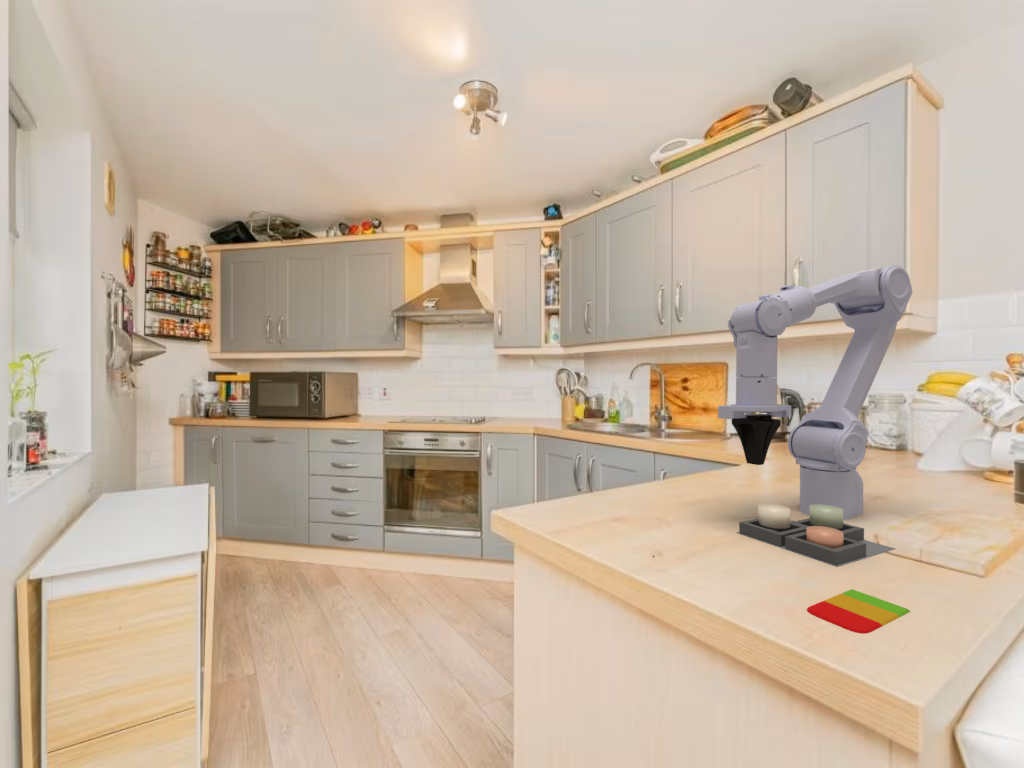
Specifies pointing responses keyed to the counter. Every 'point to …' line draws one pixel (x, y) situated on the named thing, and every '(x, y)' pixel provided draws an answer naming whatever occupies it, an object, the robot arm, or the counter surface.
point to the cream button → (774, 516)
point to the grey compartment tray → (798, 543)
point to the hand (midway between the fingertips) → (755, 463)
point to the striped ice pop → (857, 611)
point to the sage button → (826, 516)
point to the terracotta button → (825, 536)
